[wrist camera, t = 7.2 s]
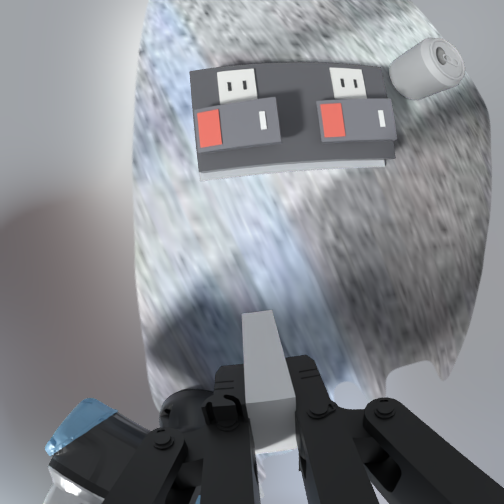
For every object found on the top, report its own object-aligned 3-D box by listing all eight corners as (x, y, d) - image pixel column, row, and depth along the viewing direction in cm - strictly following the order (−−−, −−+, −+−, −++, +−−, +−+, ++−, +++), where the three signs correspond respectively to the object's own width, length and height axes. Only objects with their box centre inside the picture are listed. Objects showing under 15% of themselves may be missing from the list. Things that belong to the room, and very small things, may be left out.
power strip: (382, 167, 39) (400, 165, 33) (200, 181, 38) (195, 181, 33) (368, 72, 35) (383, 60, 30) (190, 78, 35) (184, 64, 29)
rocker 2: (393, 141, 31) (397, 139, 29) (321, 143, 33) (321, 141, 31) (387, 102, 29) (391, 98, 27) (316, 105, 32) (316, 100, 30)
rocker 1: (282, 143, 31) (281, 141, 29) (203, 154, 32) (197, 152, 30) (277, 101, 29) (275, 96, 27) (199, 113, 31) (193, 109, 29)
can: (387, 52, 34) (426, 24, 23) (425, 71, 35) (468, 50, 23) (384, 90, 36) (427, 67, 24) (423, 108, 37) (470, 93, 25)
